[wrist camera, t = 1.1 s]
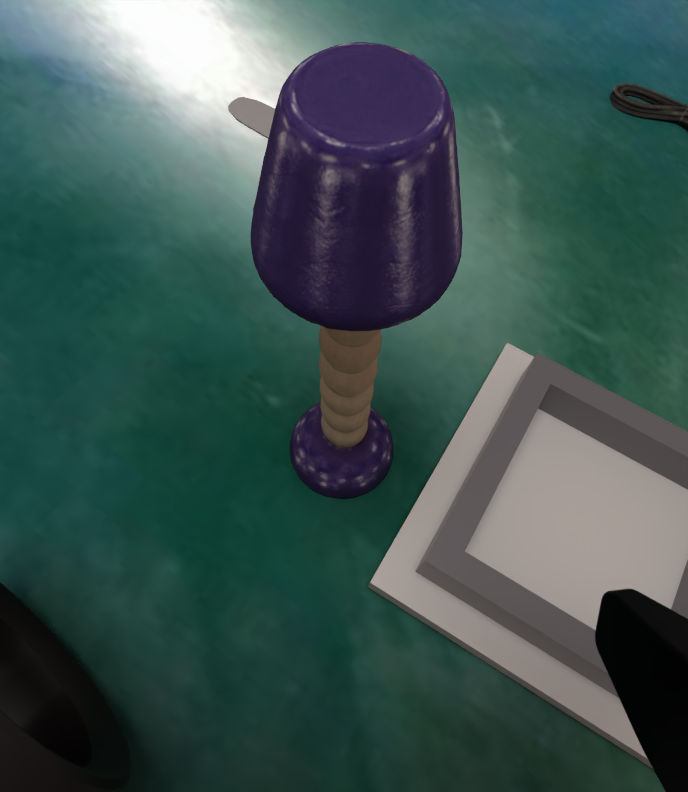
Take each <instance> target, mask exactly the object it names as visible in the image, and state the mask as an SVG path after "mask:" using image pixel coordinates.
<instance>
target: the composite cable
mask: <svg viewBox="0 0 688 792" xmlns="http://www.w3.org/2000/svg"><path fill="white" fill-rule="evenodd" d="M627 96H632V97H637V98H640V99H642V100H644V101H646V102H648V103H650V104H652V105H650V104H647V103H643V102H638V101H637V100H633V99H630V98H629V97H627ZM610 100H611V103H612V105H613V106H614V107H615V108H616V109H618V110H619V111H622V112H624V113H627V114H630V115H634V116H638V117H644V118H650V119H660V120H670V121H673V122H676V123H678V124H680V125H682V126H684V127H685V128H687V129H688V105H686V104H683V103H681V102H679V101H676V100H674V99H672V98H669V97H667V96H665V95H663V94H660V93H658V92H655V91H653V90H651V89H648V88H645V87H642V86H638V85H633V84H628V83H624V84H619V85H617V86H615V87H614V89H613V92H612V93H611V98H610Z"/></svg>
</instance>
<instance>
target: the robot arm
mask: <svg viewBox="0 0 688 792" xmlns="http://www.w3.org/2000/svg"><path fill="white" fill-rule="evenodd" d="M595 642H596V646H597V650H598V652H599V655H600V657H601V659H602V661H603V663H604V666H605V668H606V670H607V672H608V675H609V677H610V679H611V681H612V683H613V686H614V688H615V690H616V692H617V694H618V697H619V699H620V701H621V703H622V705H623V708H624V710H625V712H626V714H627V717H628V719H629V721H630V723H631V725H632V728H633V730H634V732H635V734H636V736H637V738H638V740H639V743H640V745H641V747H642V749H643V751H644V753H645V755H646V757H647V758H648V760H649V762H650V764H651V766H652V768H653V769H654V771H655V773H656V775H657V777H658V778H659V780H660V782H661V784H662V785H663V787H664V789H665V791H666V792H688V619H687V618H686V617H684V616H682V615H680V614H678V613H677V612H675V611H673V610H671V609H669V608H668V607H666V606H664V605H662V604H660V603H658V602H657V601H655V600H653V599H651V598H649V597H648V596H646V595H644V594H642V593H640V592H639V591H636V590H634V589H619V590H610V591H607V592H605V593H604V595H603V596H602V599H601V604H600V609H599V615H598V620H597V625H596V630H595Z"/></svg>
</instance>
